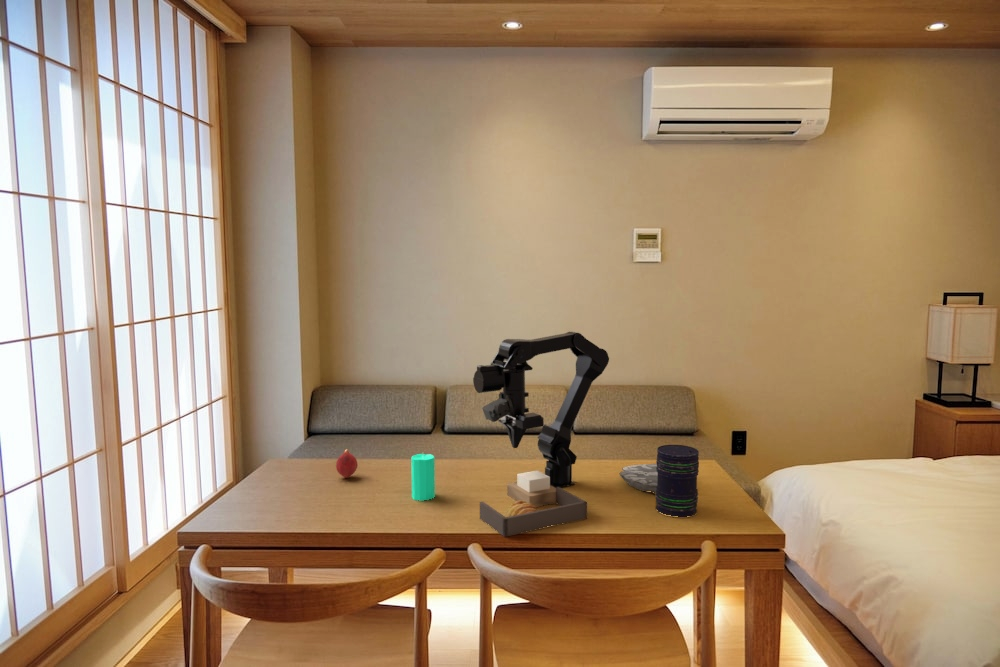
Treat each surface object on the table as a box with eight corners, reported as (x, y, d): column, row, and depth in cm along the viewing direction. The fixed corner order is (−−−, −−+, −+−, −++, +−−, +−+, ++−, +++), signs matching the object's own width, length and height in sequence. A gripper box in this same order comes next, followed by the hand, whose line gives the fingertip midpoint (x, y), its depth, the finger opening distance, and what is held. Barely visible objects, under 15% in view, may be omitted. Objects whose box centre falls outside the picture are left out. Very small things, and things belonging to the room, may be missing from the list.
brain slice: (627, 470, 195) (627, 460, 195) (688, 477, 189) (688, 467, 189) (612, 492, 177) (612, 481, 177) (679, 500, 171) (679, 489, 171)
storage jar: (652, 514, 161) (653, 453, 159) (658, 501, 170) (659, 442, 168) (695, 520, 157) (697, 457, 156) (699, 506, 166) (701, 446, 165)
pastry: (548, 526, 154) (548, 510, 154) (521, 531, 151) (521, 515, 151) (529, 512, 163) (529, 497, 162) (504, 517, 160) (504, 501, 160)
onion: (355, 481, 185) (354, 452, 184) (334, 481, 185) (333, 452, 184) (359, 474, 191) (359, 447, 190) (339, 474, 191) (338, 446, 190)
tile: (537, 481, 176) (537, 470, 175) (549, 488, 170) (549, 476, 170) (517, 485, 173) (517, 473, 172) (529, 492, 167) (529, 480, 167)
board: (537, 489, 179) (537, 478, 178) (560, 502, 169) (560, 490, 169) (507, 494, 174) (507, 483, 174) (529, 508, 165) (529, 496, 165)
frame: (558, 502, 169) (558, 486, 168) (586, 518, 158) (587, 502, 158) (479, 518, 158) (479, 502, 158) (504, 536, 148) (504, 519, 148)
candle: (431, 501, 170) (430, 454, 168) (408, 499, 171) (407, 453, 170) (438, 493, 175) (437, 448, 174) (416, 492, 177) (415, 447, 175)
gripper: (469, 386, 178) (470, 444, 179) (505, 398, 162) (507, 462, 164) (505, 381, 183) (506, 437, 185) (544, 393, 167) (545, 454, 169)
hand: (515, 447), depth 176 cm, fingers closed
